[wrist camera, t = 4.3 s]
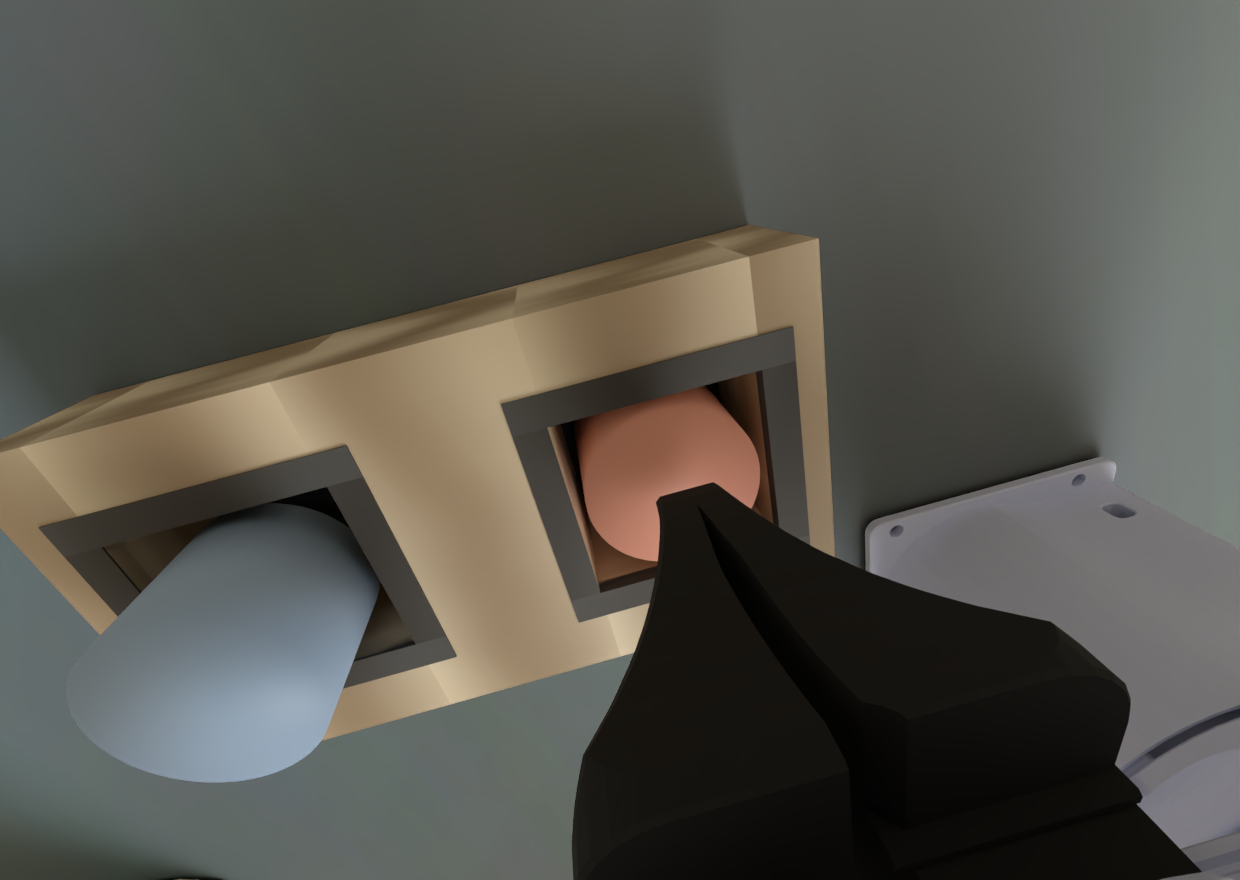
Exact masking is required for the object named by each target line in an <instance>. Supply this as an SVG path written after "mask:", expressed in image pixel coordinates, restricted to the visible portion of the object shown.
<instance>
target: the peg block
mask: <svg viewBox="0 0 1240 880" xmlns="http://www.w3.org/2000/svg"><path fill="white" fill-rule="evenodd" d="M716 382H718V385H719V392H720V399H721V404H722V406H723V407H724V408H725V409H726V410H727V411H728V413H729V414H730V415H731V416H732V417H733V419H734V420H735V421H736V422H737V423H738V424H739V426H740V427H741V428H742V429H743V430H744V432H745V433H746V434H747V435H748V437H749V438H750V440H751V442H752V443H753V445H754V447H755V450H756V452H757V455H758V459H759V464H760V483H759V489H758V493H757V496H756V499H755V502H754V504H753V506H752V508H751V509H752V510H753V511H755V512H756V513H758V514H759V515H761V516H762V517H764V518H765V519H767V520H769V521H770V522H772V523H773V524H775V525H776V526H778V527H780V528H781V529H783V530H784V531H786V532H788V533H789V534H791V535H793V536H794V537H796V538H798V539H800V540H802V541H803V542H805V543H807V544H809V545H811V546H812V547H814V548H816V549H818V550H820V551H822V552H824V553H827V554H829V555H831V556H833V557H835V544H834V525H833V505H832V486H831V466H830V447H829V428H828V408H827V389H826V369H825V350H824V330H823V311H822V291H821V272H820V252H819V238H815V237H810V236H804V235H799V234H794V233H789V232H784V231H778V230H773V229H768V228H763V227H758V226H752V225H747V226H743V227H739V228H735V229H731V230H728V231H724V232H720V233H716V234H712V235H708V236H705V237H701V238H697V239H693V240H689V241H685V242H682V243H678V244H674V245H670V246H666V247H662V248H658V249H655V250H651V251H647V252H643V253H639V254H635V255H632V256H628V257H624V258H620V259H616V260H612V261H608V262H605V263H601V264H597V265H593V266H589V267H585V268H582V269H578V270H574V271H570V272H566V273H562V274H558V275H555V276H551V277H547V278H543V279H539V280H535V281H532V282H528V283H524V284H520V285H516V286H512V287H509V288H505V289H501V290H497V291H493V292H489V293H485V294H482V295H478V296H474V297H470V298H466V299H462V300H459V301H455V302H451V303H447V304H443V305H439V306H435V307H432V308H428V309H424V310H420V311H416V312H412V313H409V314H405V315H401V316H397V317H393V318H389V319H385V320H382V321H378V322H374V323H370V324H366V325H362V326H359V327H355V328H351V329H347V330H343V331H339V332H336V333H332V334H328V335H324V336H320V337H316V338H312V339H309V340H305V341H301V342H297V343H293V344H289V345H286V346H282V347H278V348H274V349H270V350H266V351H262V352H259V353H255V354H251V355H247V356H243V357H239V358H236V359H232V360H228V361H224V362H220V363H216V364H212V365H209V366H205V367H201V368H197V369H193V370H189V371H186V372H182V373H178V374H174V375H170V376H166V377H163V378H159V379H155V380H151V381H147V382H143V383H139V384H136V385H132V386H128V387H124V388H120V389H116V390H113V391H109V392H105V393H101V394H97V395H93V396H91V397H89V398H87V399H85V400H83V401H81V402H79V403H77V404H75V405H73V406H70V407H68V408H66V409H64V410H62V411H60V412H58V413H56V414H54V415H52V416H50V417H48V418H45V419H43V420H41V421H39V422H37V423H35V424H33V425H31V426H29V427H27V428H25V429H23V430H20V431H18V432H16V433H14V434H12V435H10V436H8V437H6V438H4V439H2V440H0V529H1V530H2V531H3V532H4V533H5V534H6V535H7V536H8V537H9V538H10V539H11V540H12V541H13V542H14V543H15V545H16V546H17V547H18V548H19V549H20V550H21V551H22V552H23V553H24V554H25V555H26V556H27V557H28V558H29V559H30V561H31V562H32V563H33V564H34V565H35V566H36V567H37V568H38V569H39V570H40V571H41V572H42V573H43V574H44V575H45V577H46V578H47V579H48V580H49V581H50V582H51V583H52V584H53V585H54V586H55V587H56V588H57V589H58V590H59V591H60V593H61V594H62V595H63V596H64V597H65V598H66V599H67V600H68V601H69V602H70V603H71V604H72V605H73V606H74V607H75V609H76V610H77V611H78V612H79V613H80V614H81V615H82V616H83V617H84V618H85V619H86V620H87V621H88V622H89V623H90V625H91V626H92V627H93V628H94V629H95V630H96V631H97V632H98V633H99V634H100V635H101V634H102V633H103V632H104V631H105V630H106V629H107V628H108V627H109V626H110V625H111V624H112V622H113V621H114V620H115V619H116V618H117V617H118V616H119V615H120V614H121V613H122V612H123V611H124V610H125V609H126V608H127V607H128V606H129V605H130V604H131V603H132V602H133V601H134V600H135V599H136V598H137V597H138V595H139V594H140V593H141V592H142V591H143V590H144V589H145V588H146V587H147V586H148V585H149V584H150V583H151V582H152V581H153V580H154V579H155V578H156V577H157V576H158V575H159V574H160V573H161V572H162V571H163V570H164V568H165V567H166V566H167V565H168V564H169V563H170V562H171V561H172V560H173V559H174V558H175V557H176V556H177V555H178V554H179V553H180V552H181V551H182V550H183V549H184V548H185V547H186V546H187V545H188V544H189V542H190V541H191V540H192V539H193V538H194V537H195V536H196V535H197V534H198V533H199V532H200V531H201V530H202V529H203V528H204V527H205V526H206V525H207V524H208V523H210V522H211V521H212V520H214V519H215V518H217V517H218V516H220V515H224V514H228V513H231V512H235V511H239V510H242V509H246V508H250V507H254V506H257V505H261V504H265V503H269V502H272V501H276V500H280V499H283V498H287V497H291V496H295V495H298V494H302V493H306V492H309V491H313V490H317V489H321V488H324V487H327V488H328V490H329V492H330V493H331V495H332V497H333V499H334V500H335V502H336V504H337V506H338V507H339V509H340V511H341V513H342V515H343V516H344V518H345V520H346V522H347V523H348V525H349V527H350V529H351V530H352V532H353V534H354V536H355V538H356V539H357V541H358V543H359V545H360V546H361V548H362V550H363V552H364V553H365V555H366V557H367V559H368V561H369V562H370V564H371V566H372V568H373V569H374V571H375V573H376V575H377V576H378V578H379V580H380V590H379V594H378V597H377V600H376V603H375V605H374V608H373V611H372V613H371V616H370V618H369V621H368V624H367V626H366V629H365V632H364V634H363V637H362V640H361V642H360V645H359V647H358V650H357V653H356V655H355V658H354V661H353V663H352V666H351V668H350V671H349V674H348V676H347V679H346V682H345V684H344V687H343V690H342V692H341V695H340V697H339V700H338V703H337V705H336V708H335V711H334V713H333V716H332V718H331V721H330V724H329V726H328V729H327V731H326V733H325V735H324V737H323V738H322V740H326V739H329V738H333V737H336V736H340V735H344V734H347V733H351V732H354V731H358V730H361V729H365V728H368V727H372V726H375V725H379V724H383V723H386V722H390V721H393V720H397V719H400V718H404V717H407V716H411V715H414V714H418V713H421V712H425V711H429V710H432V709H436V708H439V707H443V706H446V705H450V704H453V703H457V702H460V701H464V700H468V699H471V698H475V697H478V696H482V695H485V694H489V693H492V692H496V691H499V690H503V689H507V688H510V687H514V686H517V685H521V684H524V683H528V682H531V681H535V680H538V679H542V678H545V677H549V676H553V675H556V674H560V673H563V672H567V671H570V670H574V669H577V668H581V667H584V666H588V665H592V664H595V663H599V662H602V661H606V660H609V659H613V658H616V657H620V656H623V655H627V654H630V653H634V652H635V649H636V646H637V643H638V640H639V638H640V635H641V632H642V629H643V626H644V622H645V619H646V615H647V612H648V608H649V604H650V600H651V596H652V591H653V586H654V580H655V574H656V568H657V562H658V561H648V560H643V559H638V558H635V557H632V556H629V555H626V554H624V553H622V552H620V551H618V550H617V549H615V548H614V547H612V546H611V545H610V544H608V543H607V542H606V541H605V540H604V539H603V538H602V537H601V536H600V534H599V533H598V532H597V531H596V529H595V527H594V526H593V524H592V522H591V520H590V517H589V515H588V512H587V508H586V505H585V502H584V498H583V495H582V492H581V489H580V485H579V482H578V479H577V476H576V472H575V469H574V466H573V463H572V459H571V456H570V453H569V450H568V446H567V443H566V440H565V437H564V433H563V430H562V427H561V424H563V423H567V422H570V421H574V420H578V419H581V418H585V417H589V416H593V415H596V414H600V413H604V412H607V411H611V410H615V409H619V408H622V407H626V406H630V405H634V404H637V403H641V402H645V401H648V400H652V399H656V398H660V397H663V396H667V395H671V394H675V393H678V392H682V391H686V390H689V389H693V388H697V387H701V386H704V385H708V384H712V383H716ZM322 740H321V741H322Z"/></svg>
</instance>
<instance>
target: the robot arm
mask: <svg viewBox="0 0 1240 880" xmlns="http://www.w3.org/2000/svg"><path fill="white" fill-rule="evenodd" d="M1115 472H1116V464H1115V463H1114V462H1113V461H1111V460H1109V459H1107V458H1105V457H1097V458H1093V459H1090V460H1086V461H1083V462H1079V463H1075V464H1072V465H1068V466H1065V467H1061V468H1057V469H1054V470H1050V471H1047V472H1043V473H1039V474H1036V475H1032V476H1029V477H1025V478H1021V479H1018V480H1014V481H1011V482H1007V483H1004V484H1000V485H996V486H993V487H989V488H986V489H982V490H978V491H975V492H971V493H968V494H964V495H960V496H957V497H953V498H950V499H946V500H943V501H939V502H935V503H932V504H928V505H925V506H921V507H917V508H914V509H910V510H907V511H903V512H899V513H896V514H892V515H889V516H885V517H882V518H878V519H876V520H873V521H872V522H871V523H870V524H869V525H868V526H867V528H866V531H865V559H866V571H865V570H863V569H860V568H858V567H856V566H853V565H851V564H849V563H847V562H844V561H842V560H840V559H838V558H835V557H833V556H831V555H829V554H827V553H824V552H822V551H820V550H818V549H816V548H814V547H812V546H811V545H809V544H807V543H805V542H803V541H802V540H800V539H798V538H796V537H794V536H793V535H791V534H789V533H788V532H786V531H784V530H783V529H781V528H780V527H778V526H776V525H775V524H773V523H772V522H770V521H769V520H767V519H765V518H764V517H762V516H761V515H759V514H758V513H756V512H755V511H753V510H752V509H751V508H749V507H748V506H746V505H745V504H743V503H742V502H741V501H739V500H738V499H737V498H735V497H734V496H732V495H731V494H730V493H728V492H727V491H726V490H724V489H723V488H722V487H720V486H719V485H718V484H716V483H714V482H712V483H708V484H704V485H701V486H697V487H693V488H690V489H686V490H682V491H679V492H675V493H671V494H668V495H664V496H660V497H659V498H658V500H657V501H656V506H657V510H658V514H659V519H660V539H659V553H658V562H657V568H656V574H655V580H654V586H653V591H652V596H651V600H650V604H649V608H648V612H647V615H646V619H645V622H644V626H643V629H642V632H641V635H640V638H639V640H638V643H637V646H636V649H635V652H634V655H633V657H632V660H631V662H630V665H629V667H628V669H627V671H626V674H625V676H624V678H623V680H622V683H621V685H620V687H619V689H618V691H617V694H616V696H615V698H614V700H613V702H612V704H611V706H610V708H609V710H608V712H607V714H606V716H605V717H604V719H603V721H602V723H601V724H600V726H599V728H598V730H597V732H596V733H595V735H594V737H593V739H592V740H591V742H590V744H589V746H588V748H587V749H586V751H585V753H584V755H583V758H582V763H581V769H580V774H579V780H578V786H577V793H576V800H575V807H574V818H573V835H572V858H573V877H574V880H1240V549H1239V548H1237V547H1235V546H1234V545H1232V544H1230V543H1228V542H1226V541H1224V540H1222V539H1220V538H1218V537H1216V536H1214V535H1212V534H1210V533H1208V532H1206V531H1205V530H1203V529H1201V528H1199V527H1197V526H1195V525H1193V524H1191V523H1189V522H1187V521H1185V520H1183V519H1181V518H1179V517H1178V516H1176V515H1174V514H1172V513H1170V512H1168V511H1166V510H1164V509H1162V508H1160V507H1158V506H1156V505H1154V504H1152V503H1150V502H1149V501H1147V500H1145V499H1143V498H1141V497H1139V496H1137V495H1135V494H1133V493H1131V492H1129V491H1127V490H1125V489H1123V488H1122V487H1120V486H1118V485H1116V484H1114V483H1113V481H1114V476H1115ZM895 526H896V527H895ZM893 527H895V528H894V529H893V530H891V529H892V528H893ZM890 530H891V531H890Z"/></svg>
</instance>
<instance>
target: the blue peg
mask: <svg viewBox="0 0 1240 880" xmlns="http://www.w3.org/2000/svg"><path fill="white" fill-rule="evenodd" d="M379 590H380V580H379V578H378V576H377V575H376V573H375V571H374V569H373V568H372V566H371V564H370V562H369V561H368V559H367V557H366V555H365V553H364V552H363V550H362V548H361V546H360V545H359V543H358V541H357V539H356V538H355V536H354V534H353V532H352V530H351V529H350V528H348V527H347V526H346V525H344V524H343V523H341V522H339V521H338V520H336V519H334V518H332V517H330V516H328V515H326V514H323V513H321V512H319V511H315V510H312V509H309V508H306V507H301V506H296V505H290V504H281V503H265V504H261V505H257V506H254V507H250V508H246V509H242V510H239V511H235V512H231V513H228V514H224V515H220V516H218V517H217V518H215V519H214V520H212V521H211V522H210V523H208V524H207V525H206V526H205V527H204V528H203V529H202V530H201V531H200V532H199V533H198V534H197V535H196V536H195V537H194V538H193V539H192V540H191V541H190V542H189V544H188V545H187V546H186V547H185V548H184V549H183V550H182V551H181V552H180V553H179V554H178V555H177V556H176V557H175V558H174V559H173V560H172V561H171V562H170V563H169V564H168V565H167V566H166V567H165V568H164V570H163V571H162V572H161V573H160V574H159V575H158V576H157V577H156V578H155V579H154V580H153V581H152V582H151V583H150V584H149V585H148V586H147V587H146V588H145V589H144V590H143V591H142V592H141V593H140V594H139V595H138V597H137V598H136V599H135V600H134V601H133V602H132V603H131V604H130V605H129V606H128V607H127V608H126V609H125V610H124V611H123V612H122V613H121V614H120V615H119V616H118V617H117V618H116V619H115V620H114V621H113V622H112V624H111V625H110V626H109V627H108V628H107V629H106V630H105V631H104V632H103V633H102V634H101V635H100V636H99V637H98V638H97V639H96V640H95V641H94V642H93V643H92V644H91V645H90V646H89V647H88V648H87V650H86V651H85V652H84V653H83V654H82V655H81V656H80V657H79V658H78V660H77V661H76V662H75V664H74V665H73V667H72V669H71V671H70V674H69V676H68V680H67V685H66V699H67V703H68V707H69V710H70V712H71V715H72V717H73V719H74V721H75V722H76V724H77V725H78V726H79V728H80V729H81V731H82V732H83V733H84V734H85V735H86V736H87V737H88V738H89V739H90V740H91V741H92V742H93V743H95V744H96V745H97V746H98V747H100V748H101V749H102V750H104V751H105V752H107V753H108V754H110V755H111V756H113V757H115V758H117V759H119V760H120V761H122V762H124V763H126V764H128V765H131V766H133V767H136V768H138V769H141V770H143V771H147V772H150V773H153V774H156V775H160V776H164V777H169V778H173V779H180V780H186V781H196V782H233V781H242V780H248V779H254V778H258V777H262V776H266V775H269V774H272V773H275V772H278V771H280V770H283V769H285V768H287V767H289V766H291V765H293V764H295V763H296V762H298V761H300V760H301V759H303V758H304V757H305V756H307V755H308V754H309V753H311V751H312V750H313V749H314V748H315V747H316V746H317V745H318V744H319V743H320V741H321V740H322V738H323V737H324V735H325V733H326V731H327V729H328V726H329V724H330V721H331V718H332V716H333V713H334V711H335V708H336V705H337V703H338V700H339V697H340V695H341V692H342V690H343V687H344V684H345V682H346V679H347V676H348V674H349V671H350V668H351V666H352V663H353V661H354V658H355V655H356V653H357V650H358V647H359V645H360V642H361V640H362V637H363V634H364V632H365V629H366V626H367V624H368V621H369V618H370V616H371V613H372V611H373V608H374V605H375V603H376V600H377V597H378V594H379Z"/></svg>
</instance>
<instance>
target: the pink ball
mask: <svg viewBox="0 0 1240 880" xmlns="http://www.w3.org/2000/svg"><path fill="white" fill-rule="evenodd" d="M574 430H575V440H576V446H577V453H578V459H579V465H580V471H581V478H582V484H583V490H584V497H585V503H586V507H587V512H588V515H589V517H590V520H591V522H592V524H593V526H594V527H595V529H596V531H597V532H598V533H599V534H600V536H601V537H602V538H603V539H604V540H605V541H606V542H607V543H608V544H610V545H611V546H612V547H614V548H615V549H617V550H618V551H620V552H622V553H624V554H626V555H629V556H632V557H635V558H638V559H643V560H648V561H658V553H659V539H660V519H659V514H658V510H657V506H656V501H657V500H658V498H659V497H660V496H664V495H668V494H671V493H675V492H679V491H682V490H686V489H690V488H693V487H697V486H701V485H704V484H708V483H712V482H714V483H716V484H718V485H719V486H720V487H722V488H723V489H724V490H726V491H727V492H728V493H730V494H731V495H732V496H734V497H735V498H737V499H738V500H739V501H741V502H742V503H743V504H745V505H746V506H748V507H749V508H752V506H753V504H754V502H755V499H756V496H757V493H758V489H759V483H760V464H759V459H758V455H757V452H756V450H755V447H754V445H753V443H752V442H751V440H750V438H749V437H748V435H747V434H746V433H745V432H744V430H743V429H742V428H741V427H740V426H739V424H738V423H737V422H736V421H735V420H734V419H733V417H732V416H731V415H730V414H729V413H728V411H727V410H726V409H725V408H724V407H723V406H722V404H721V403H720V402H719V401H718V400H717V398H716V397H715V396H714V395H713V394H712V393H711V391H710V390H709V389H708V388H707V387H706V385H704V386H701V387H697V388H693V389H689V390H686V391H682V392H678V393H675V394H671V395H667V396H663V397H660V398H656V399H652V400H648V401H645V402H641V403H637V404H634V405H630V406H626V407H622V408H619V409H615V410H611V411H607V412H604V413H600V414H596V415H593V416H589V417H585V418H581V419H578V420H575V427H574Z"/></svg>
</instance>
